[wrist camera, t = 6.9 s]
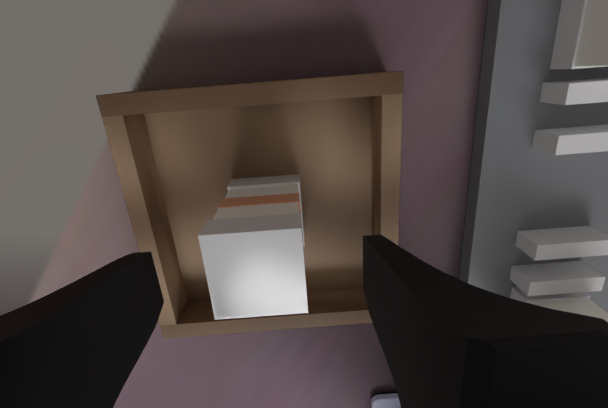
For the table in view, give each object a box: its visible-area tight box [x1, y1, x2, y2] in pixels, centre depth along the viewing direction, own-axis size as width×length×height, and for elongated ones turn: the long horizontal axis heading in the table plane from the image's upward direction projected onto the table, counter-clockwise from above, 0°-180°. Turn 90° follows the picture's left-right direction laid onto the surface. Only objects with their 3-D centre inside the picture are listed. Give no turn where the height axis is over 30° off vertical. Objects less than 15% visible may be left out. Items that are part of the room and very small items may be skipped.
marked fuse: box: [198, 174, 308, 320], centre depth 14 cm, size 3×3×6 cm
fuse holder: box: [459, 0, 608, 312], centre depth 16 cm, size 20×8×2 cm, turn 4°
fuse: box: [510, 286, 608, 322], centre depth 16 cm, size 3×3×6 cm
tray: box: [96, 71, 403, 338], centre depth 16 cm, size 12×12×2 cm
